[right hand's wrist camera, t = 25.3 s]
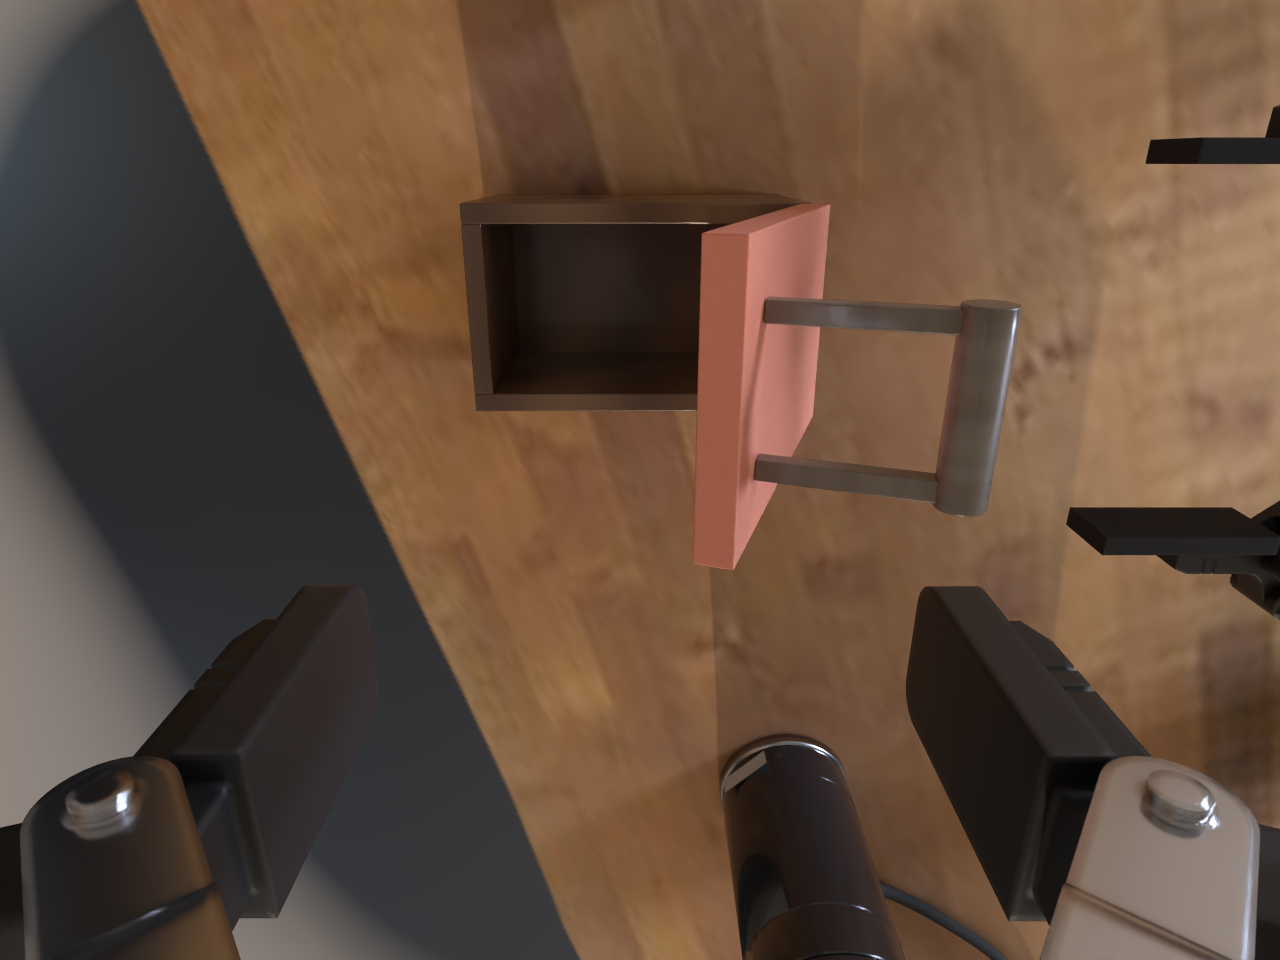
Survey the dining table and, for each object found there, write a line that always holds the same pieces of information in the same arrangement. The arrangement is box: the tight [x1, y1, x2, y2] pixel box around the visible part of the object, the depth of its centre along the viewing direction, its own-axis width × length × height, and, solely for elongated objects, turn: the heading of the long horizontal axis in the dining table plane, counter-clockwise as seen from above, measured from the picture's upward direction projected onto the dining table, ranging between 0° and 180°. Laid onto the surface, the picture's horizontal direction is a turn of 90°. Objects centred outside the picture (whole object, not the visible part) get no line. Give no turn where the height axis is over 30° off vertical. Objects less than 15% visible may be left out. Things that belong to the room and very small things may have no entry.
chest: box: [460, 194, 812, 411], centre depth 41 cm, size 16×10×10 cm, turn 90°
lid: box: [693, 203, 1022, 570], centre depth 28 cm, size 16×10×8 cm
